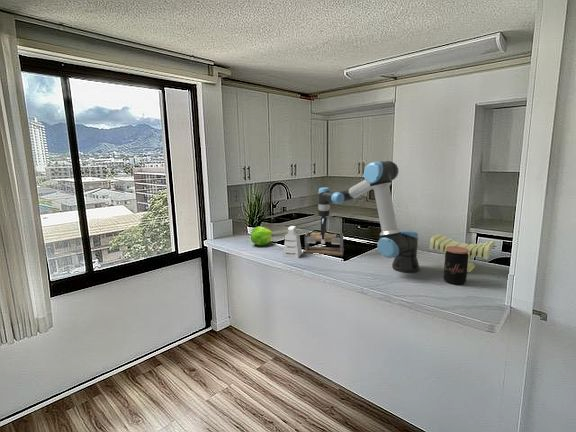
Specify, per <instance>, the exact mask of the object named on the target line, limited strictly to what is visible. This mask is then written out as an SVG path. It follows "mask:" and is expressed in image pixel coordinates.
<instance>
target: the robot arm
mask: <svg viewBox="0 0 576 432" xmlns="http://www.w3.org/2000/svg"><path fill="white" fill-rule="evenodd" d="M398 175H399V167H398V165H397V164H396V163H395V162H393V161H390V160H386V161H380V160H379V161H378V160H376V161H373V162H369V163H368V164H367V165H366V167H365V168H364V171H363V178H364V179H363V180H362V181H360V182H359V183H356V184H355V185H353V186H351V187H349V188H348V189H346V190H339V191H331V190H330V188H329V187H320V188H319V189H318V195H317V196H318V206H317V209H318V211H317V212H318V215H317V216H319V217H321V218H320V233H321V234H320V235H321V241H320V244H321V245H323V244H324V245H325V244H326V242H325V233H328V230H327V223H328V221H327V220H328V217H329V216H330V208H331V205H330V204H335V205H341V204H342V203H344V202H345V203H346V202H352V201H355V200H356V199H357V198H358V197H359V196H361V195H364V194H365V193H367V192H369V191H371V190H373V193H374V198H375V203H376V204H375V205H376V208H377V209H376V210H377V213H378V214H377V215H378V219H379V224H380V230H381V232H380V233H379V240H378V241H377V250H378V251H379V253H380V255H382V256H383V257H384V258H389V259H391V258H394V259H393V261H392V264H391V268H392V269H393V270H394V271H396V272H400V273H407V274H410V273H411V274H412V273H417V272H419V271H420V263H419V260H418V257H417V256H418V243H419V242H418V241H419V234H418V232H417V231H413V230H407V229H399V228H398V225H397V220H396V214H395V210H394V203H393V199H392V194H391V185H392V181H394V180H395V179H396V178H397V177H398Z"/></svg>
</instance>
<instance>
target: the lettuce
mask: <svg viewBox="0 0 576 432" xmlns="http://www.w3.org/2000/svg"><path fill="white" fill-rule="evenodd" d="M272 236H273V232H272V230H270V229H269V228H268V227H264V226H261V225H260V226H259V225H258V226H256V227H254V228H253V229H252V231H251V233H250V241H251V243H253V244H254V245H257V246H266V245H267V244H269V243H271V240H272Z"/></svg>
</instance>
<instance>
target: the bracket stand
mask: <svg viewBox="0 0 576 432" xmlns="http://www.w3.org/2000/svg"><path fill="white" fill-rule="evenodd" d="M330 243H331V245H339V247H322V246H321V247H320V246H310V244H317V241H316V237H311V233H310V232H309V231H306V232H305V233H304V249H303V254H307V255H308V254H309V255H310V254H311V255H314V254H313V253H319V254H318V255H324V254H327V255H328V256H329V255H331V256H344V251H345V248H344V233H343V232H342V233H341V232H340V234H337V238H334V237H331V242H330Z"/></svg>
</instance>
